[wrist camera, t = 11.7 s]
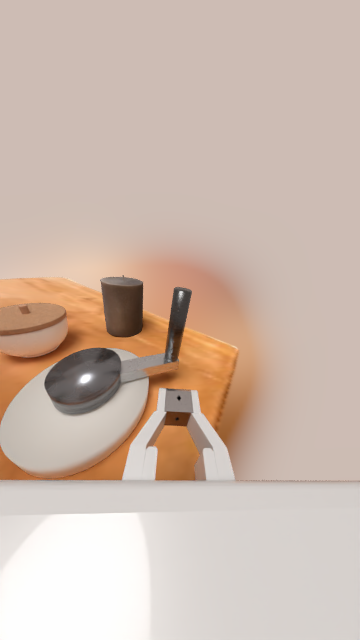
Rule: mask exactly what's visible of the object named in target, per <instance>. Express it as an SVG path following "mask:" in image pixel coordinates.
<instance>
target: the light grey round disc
mask: <svg viewBox="0 0 360 640" xmlns="http://www.w3.org/2000/svg"><path fill="white" fill-rule="evenodd" d="M106 349H110V350H113V351H114V352H116V353H117V354H118V355H119V357H120V359H121V361H124V360H129V359H135V358H139V357H137V356H136V355H134V354H133V353H131V352H128V351H126V350H122V349H116V348H106ZM57 363H58V362H57ZM57 363H55V364H53V365H52V366H50V367H48V368H47V369H45V370H44V371H42V372H41V373H39V374H38V375H37V376H36V377H34V378H33V379H32V380H31V381H30V382H29V383H27V384H26V385H25V386H24V387H23V388H22V389H21V391H20V392H19V393H18V394H17V395H16V396H15V398H14V399H13V400H12V402H11V403H10V405H9V406H8V408H7V410H6V412H5V414H4V416H3V419H2V421H1V425H0V445H1V448H2V451H3V452H4V453H5V455H6V456H7V457H8V458H9V459H10V460H11V461H12V462H13V463H15V464H16V465H17V466H18V467H19V468H21V469H22V470H23V471H25V472H26V473H27V474H29V475H32V476H35V477H38V478H46V479H52V478H62V477H66V476H70V475H74V474H76V473H79V472H81V471H84V470H86V469H88V468H90V467H92V466H94V465H96V464H97V463H99V462H100V461H102V460H103V459H105V458H106V457H108V456H109V455H110V454H111V453H113V452H114V451H115V450H116V449H117V448H118V447H119V446H120V445H121V444H122V443H123V442H124V441H125V440H126V439H127V438H128V437H129V436H130V434H131V433H132V432H133V430H134V429H135V427H136V426H137V424H138V423H139V421H140V419H141V417H142V415H143V412H144V410H145V407H146V403H147V397H148V386H149V376H147V377H143V378H139V379H135V380H131V381H127V382H123V383H121V384H120V387H119V389H118V390H117V392H116V393H115V394H114V395H113V396H112V397H111V398H110V399H109V400H108V401H107V402H105V403H104V404H103V405H101V406H99V407H98V408H96V409H93V410H91V411H88V412H85V413H81V414H65V413H62V412H60V411H58V410H57V409H56V408H55V407H54V405H53V403H52V401H51V399H50V397H49V395H48V393H47V392H46V390H45V386H44V382H45V378H46V376H47V374H48V372H49V371H50V370H51V368H52V367H53V366H54V365H56V364H57Z"/></svg>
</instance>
